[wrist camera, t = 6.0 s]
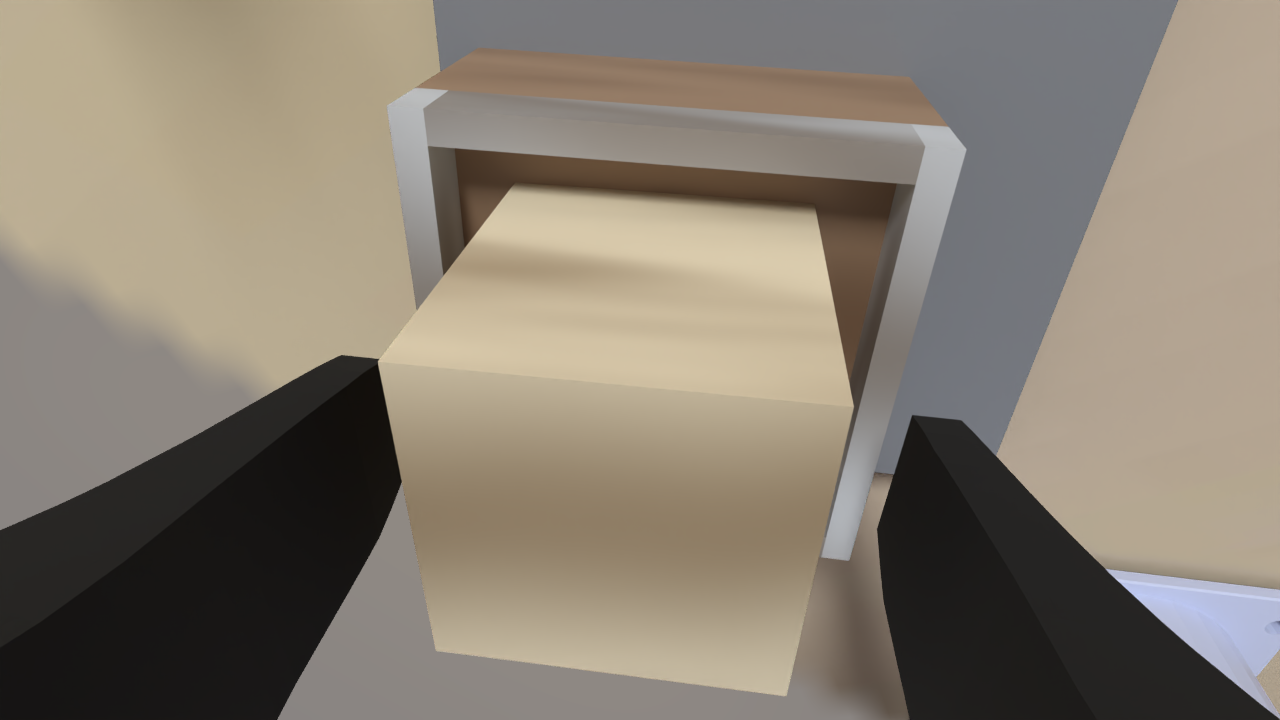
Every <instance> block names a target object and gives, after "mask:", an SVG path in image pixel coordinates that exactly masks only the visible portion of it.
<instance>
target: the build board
mask: <svg viewBox="0 0 1280 720" xmlns="http://www.w3.org/2000/svg"><path fill="white" fill-rule="evenodd" d="M1177 2H1178V0H433V4H434V14H435V23H436V33H437V42H438V52H439V61H440V71H443V70H444V69H446V68H447V67H449V66H450V65H452V64H454V63H455V62H457V61H458V60H460V59H461V58H463V57H465V56H466V55H468V54H469V53H471V52H473V51H474V50H476V49H477V48H491V49H506V50H521V51H535V52H550V53H565V54H580V55H594V56H609V57H624V58H639V59H653V60H668V61H683V62H698V63H712V64H727V65H742V66H757V67H771V68H786V69H801V70H816V71H830V72H845V73H860V74H875V75H889V76H904V77H910V78H911V79H912V81H913V82H914V83H915V85H916V86H917V87H918V88H919V90H920V91H921V92H922V93H923V95H924V96H925V97H926V99H927V100H928V101H929V102H930V104H931V105H932V106H933V107H934V109H935V110H936V111H937V113H938V114H939V115H940V116H941V118H942V119H943V120H944V121H945V123H946V124H947V125H948V126H949V128H950V129H951V130H952V132H953V133H954V134H955V135H956V137H957V138H958V139H959V140H960V142H961V143H962V144H963V146H964V147H965V148H966V149H967V150H966V153H965V157H964V160H963V164H962V167H961V171H960V174H959V178H958V181H957V185H956V188H955V192H954V195H953V199H952V202H951V206H950V209H949V213H948V216H947V220H946V223H945V227H944V230H943V234H942V237H941V241H940V244H939V248H938V251H937V255H936V258H935V262H934V265H933V269H932V272H931V276H930V279H929V283H928V286H927V290H926V293H925V297H924V300H923V304H922V307H921V311H920V314H919V318H918V321H917V325H916V328H915V332H914V335H913V339H912V343H911V346H910V350H909V353H908V357H907V360H906V364H905V367H904V371H903V374H902V378H901V381H900V385H899V388H898V392H897V395H896V399H895V402H894V406H893V409H892V413H891V416H890V420H889V423H888V427H887V430H886V434H885V437H884V441H883V444H882V448H881V451H880V455H879V458H878V462H877V465H876V469H875V472H878V473H887V474H894V472H895V469H896V466H897V463H898V459H899V456H900V453H901V450H902V446H903V443H904V440H905V436H906V433H907V430H908V427H909V423H910V420H911V417H912V415H918V416H927V417H937V418H946V419H956V420H962V421H963V422H964V423H965V424H966V425H967V426H968V427H969V428H970V429H971V430H972V431H973V432H974V433H975V434H976V435H977V436H978V437H979V438H980V440H981V441H982V442H983V443H984V444H985V445H986V446H987V447H988V448H989V449H990V450H991V451H992V452H993V453H994V455H995V456H996V454H997V452H998V449H999V447H1000V444H1001V442H1002V439H1003V437H1004V434H1005V432H1006V429H1007V427H1008V424H1009V422H1010V419H1011V417H1012V414H1013V412H1014V409H1015V407H1016V404H1017V402H1018V399H1019V397H1020V394H1021V392H1022V389H1023V387H1024V384H1025V382H1026V379H1027V377H1028V374H1029V372H1030V369H1031V367H1032V364H1033V362H1034V359H1035V357H1036V354H1037V352H1038V349H1039V347H1040V344H1041V342H1042V339H1043V337H1044V334H1045V332H1046V329H1047V327H1048V324H1049V322H1050V319H1051V317H1052V314H1053V312H1054V309H1055V307H1056V304H1057V302H1058V299H1059V297H1060V294H1061V292H1062V289H1063V287H1064V284H1065V282H1066V279H1067V277H1068V274H1069V272H1070V269H1071V267H1072V264H1073V262H1074V259H1075V257H1076V254H1077V252H1078V249H1079V247H1080V244H1081V242H1082V239H1083V237H1084V234H1085V232H1086V229H1087V227H1088V224H1089V222H1090V219H1091V217H1092V214H1093V212H1094V209H1095V207H1096V204H1097V202H1098V199H1099V197H1100V194H1101V192H1102V189H1103V187H1104V184H1105V182H1106V179H1107V177H1108V174H1109V172H1110V169H1111V167H1112V164H1113V162H1114V159H1115V157H1116V154H1117V152H1118V149H1119V147H1120V144H1121V142H1122V139H1123V137H1124V134H1125V132H1126V129H1127V127H1128V124H1129V122H1130V119H1131V117H1132V114H1133V112H1134V109H1135V107H1136V104H1137V102H1138V99H1139V97H1140V94H1141V92H1142V89H1143V87H1144V84H1145V82H1146V79H1147V77H1148V74H1149V72H1150V69H1151V67H1152V64H1153V62H1154V59H1155V57H1156V54H1157V52H1158V49H1159V47H1160V44H1161V42H1162V39H1163V37H1164V34H1165V32H1166V29H1167V27H1168V24H1169V22H1170V19H1171V17H1172V14H1173V12H1174V9H1175V7H1176V4H1177Z"/></svg>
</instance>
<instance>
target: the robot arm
mask: <svg viewBox="0 0 1280 720" xmlns="http://www.w3.org/2000/svg"><path fill="white" fill-rule="evenodd" d="M378 361H379V359H373V358H364V357H354V356H345V355H341V356H338V357H336V358H334V359H332V360H330V361H328V362H326V363H324V364H322V365H320V366H318V367H316V368H315V369H313V370H311V371H309V372H307V373H305V374H304V375H302V376H300V377H298V378H296V379H295V380H293V381H291V382H289V383H288V384H286V385H284V386H282V387H281V388H279V389H277V390H275V391H274V392H272V393H270V394H268V395H267V396H265V397H263V398H261V399H260V400H258V401H256V402H254V403H253V404H251V405H249V406H247V407H245V408H244V409H242V410H240V411H239V412H237V413H235V414H233V415H232V416H230V417H228V418H226V419H225V420H223V421H221V422H219V423H217V424H215V425H214V426H212V427H210V428H208V429H207V430H205V431H203V432H201V433H200V434H198V435H196V436H194V437H192V438H190V439H188V440H186V441H185V442H183V443H181V444H179V445H177V446H175V447H173V448H171V449H170V450H167V451H165V452H164V453H162V454H160V455H158V456H156V457H154V458H152V459H150V460H148V461H146V462H144V463H142V464H141V465H139V466H137V467H135V468H133V469H131V470H129V471H127V472H125V473H123V474H121V475H120V476H118V477H116V478H114V479H112V480H110V481H108V482H106V483H104V484H102V485H100V486H98V487H95V488H93V489H92V490H89V491H87V492H85V493H83V494H81V495H79V496H76V497H75V498H72V499H70V500H68V501H66V502H64V503H62V504H59V505H58V506H55V507H53V508H50V509H48V510H46V511H43V512H41V513H39V514H37V515H34V516H32V517H30V518H28V519H26V520H23V521H21V522H18V523H16V524H14V525H12V526H9V527H7V528H5V529H2V530H0V720H277V719H278V717H279V715H280V713H281V711H282V709H283V707H284V706H285V703H286V702H287V699H288V698H289V696H290V694H291V692H292V690H293V688H294V686H295V684H296V683H297V681H298V679H299V677H300V676H301V674H302V672H303V671H304V669H305V667H306V665H307V664H308V662H309V660H310V658H311V657H312V655H313V653H314V651H315V650H316V648H317V646H318V644H319V643H320V641H321V639H322V638H323V636H324V634H325V632H326V631H327V629H328V627H329V625H330V624H331V622H332V620H333V618H334V617H335V615H336V613H337V611H338V610H339V608H340V606H341V604H342V603H343V601H344V599H345V598H346V596H347V594H348V592H349V591H350V589H351V587H352V585H353V584H354V582H355V580H356V578H357V576H358V575H359V573H360V571H361V569H362V568H363V566H364V564H365V562H366V561H367V559H368V557H369V555H370V553H371V551H372V550H373V548H374V546H375V544H376V542H377V540H378V539H379V537H380V535H381V532H382V530H383V527H384V525H385V523H386V520H387V518H388V516H389V513H390V511H391V508H392V506H393V503H394V501H395V498H396V496H397V493H398V490H399V488H400V485H401V483H402V480H401V475H400V470H399V465H398V460H397V455H396V450H395V445H394V440H393V435H392V430H391V425H390V420H389V415H388V410H387V405H386V400H385V395H384V391H383V386H382V381H381V376H380V371H379V366H378ZM877 533H878V545H879V558H880V570H881V580H882V589H883V599H884V605H885V609H886V614H887V619H888V624H889V628H890V633H891V637H892V642H893V646H894V651H895V656H896V660H897V665H898V669H899V673H900V678H901V682H902V687H903V691H904V695H905V700H906V704H907V709H908V713H909V718H910V720H1280V715H1279V713H1278V712H1277V710H1276V709H1275V707H1274V705H1273V704H1272V702H1271V701H1270V699H1269V697H1268V696H1267V694H1266V693H1265V691H1264V689H1263V688H1262V686H1261V685H1260V683H1259V682H1258V680H1257V678H1256V677H1257V675H1258V674H1259V673H1260V672H1261V671H1262V670H1263V668H1264V667H1265V666H1266V665H1267V664H1268V662H1269V661H1270V660H1271V659H1272V658H1273V656H1274V655H1275V654H1276V653H1277V652H1278V650H1279V649H1280V590H1277V589H1269V588H1260V587H1252V586H1244V585H1235V584H1227V583H1218V582H1210V581H1202V580H1193V579H1185V578H1176V577H1168V576H1160V575H1151V574H1143V573H1134V572H1126V571H1118V570H1109V569H1105V568H1104V567H1103V566H1102V565H1101V564H1100V563H1099V562H1098V561H1097V560H1095V559H1094V558H1093V557H1092V556H1091V555H1090V554H1089V553H1088V552H1087V551H1086V550H1085V549H1084V548H1083V547H1082V546H1081V545H1080V544H1079V543H1078V542H1077V541H1076V540H1075V539H1074V538H1073V537H1072V536H1071V535H1070V534H1069V533H1068V532H1067V531H1066V530H1065V529H1064V528H1063V527H1062V526H1061V525H1060V523H1059V522H1058V521H1057V520H1056V519H1055V518H1054V517H1053V516H1052V515H1051V514H1050V513H1049V512H1048V511H1047V510H1046V509H1045V508H1044V507H1043V506H1042V505H1041V504H1040V503H1039V502H1038V501H1037V500H1036V499H1035V497H1034V496H1033V495H1032V494H1031V493H1030V492H1029V491H1028V490H1027V489H1026V488H1025V487H1024V486H1023V485H1022V484H1021V483H1020V481H1019V480H1018V479H1017V478H1016V477H1015V476H1014V475H1013V474H1012V473H1011V472H1010V471H1009V470H1008V469H1007V468H1006V466H1005V465H1004V464H1003V463H1002V462H1001V461H1000V460H999V459H998V458H997V457H996V456H995V455H994V453H993V452H992V451H991V450H990V449H989V448H988V447H987V446H986V445H985V444H984V443H983V442H982V441H981V440H980V438H979V437H978V436H977V435H976V434H975V433H974V432H973V431H972V430H971V429H970V428H969V427H968V426H967V425H966V424H965V423H964V422H963V421H962V420H956V419H946V418H937V417H927V416H918V415H912V417H911V420H910V423H909V427H908V430H907V433H906V436H905V440H904V443H903V446H902V450H901V453H900V456H899V459H898V463H897V466H896V469H895V472H894V476H893V479H892V482H891V486H890V489H889V492H888V495H887V499H886V502H885V505H884V508H883V512H882V515H881V518H880V522H879V525H878V528H877Z"/></svg>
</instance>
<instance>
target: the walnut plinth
mask: <svg viewBox="0 0 1280 720" xmlns="http://www.w3.org/2000/svg"><path fill="white" fill-rule="evenodd" d="M387 111H388V118H389V125H390V131H391V138H392V145H393V152H394V159H395V166H396V172H397V179H398V186H399V193H400V200H401V206H402V213H403V220H404V227H405V234H406V240H407V247H408V254H409V261H410V268H411V274H412V281H413V288H414V295H415V302H416V309H417V310H418V309H419V307H420V306H421V305H422V303H423V302H424V301H425V299H426V298H427V297H428V295H429V294H430V293H431V292H432V290H433V289H434V288H435V286H436V285H437V284H438V282H439V281H440V280H441V279H442V277H443V276H444V275H445V273H446V272H447V271H448V269H449V268H450V267H451V266H452V264H453V263H454V262H455V260H456V259H457V258H458V256H459V255H460V254H461V252H462V251H463V250H464V249H465V247H466V246H467V245H468V243H469V242H470V241H471V239H472V238H473V237H474V236H475V234H476V233H477V232H478V230H479V229H480V228H481V226H482V225H483V224H484V222H485V221H486V220H487V219H488V217H489V216H490V215H491V213H492V212H493V211H494V209H495V208H496V207H497V206H498V204H499V203H500V202H501V200H502V199H503V198H504V196H505V195H506V194H507V193H508V191H509V190H510V189H511V187H512V186H513V185H514V183H529V184H543V185H557V186H571V187H585V188H599V189H613V190H627V191H641V192H655V193H669V194H683V195H697V196H711V197H725V198H739V199H753V200H767V201H781V202H795V203H809V204H815V209H816V214H817V219H818V224H819V230H820V235H821V240H822V245H823V250H824V255H825V261H826V266H827V271H828V276H829V281H830V286H831V291H832V297H833V302H834V307H835V312H836V317H837V322H838V328H839V333H840V338H841V343H842V348H843V353H844V359H845V364H846V369H847V374H848V379H849V384H850V389H851V395H852V400H853V405H854V409H853V413H852V417H851V422H850V426H849V430H848V434H847V439H846V443H845V447H844V452H843V456H842V460H841V464H840V469H839V473H838V477H837V482H836V486H835V490H834V494H833V499H832V503H831V507H830V512H829V516H828V520H827V524H826V529H825V533H824V537H823V541H822V546H821V550H820V554H819V557H822V558H831V559H839V560H847V561H849V560H850V556H851V553H852V549H853V546H854V542H855V539H856V535H857V532H858V528H859V525H860V521H861V518H862V514H863V511H864V507H865V504H866V500H867V497H868V493H869V490H870V486H871V483H872V479H873V476H874V472H875V469H876V465H877V462H878V458H879V455H880V451H881V448H882V444H883V441H884V437H885V434H886V430H887V427H888V423H889V420H890V416H891V413H892V409H893V406H894V402H895V399H896V395H897V392H898V388H899V385H900V381H901V378H902V374H903V371H904V367H905V364H906V360H907V357H908V353H909V350H910V346H911V343H912V339H913V335H914V332H915V328H916V325H917V321H918V318H919V314H920V311H921V307H922V304H923V300H924V297H925V293H926V290H927V286H928V283H929V279H930V276H931V272H932V269H933V265H934V262H935V258H936V255H937V251H938V248H939V244H940V241H941V237H942V234H943V230H944V227H945V223H946V220H947V216H948V213H949V209H950V206H951V202H952V199H953V195H954V192H955V188H956V185H957V181H958V178H959V174H960V171H961V167H962V164H963V160H964V157H965V153H966V150H967V149H966V148H965V147H964V146H963V144H962V143H961V142H960V140H959V139H958V138H957V137H956V135H955V134H954V133H953V132H952V130H951V129H950V128H949V126H948V125H947V124H946V123H945V121H944V120H943V119H942V118H941V116H940V115H939V114H938V113H937V111H936V110H935V109H934V107H933V106H932V105H931V104H930V102H929V101H928V100H927V99H926V97H925V96H924V95H923V93H922V92H921V91H920V90H919V88H918V87H917V86H916V85H915V83H914V82H913V81H912V79H911V78H910V77H904V76H889V75H875V74H860V73H845V72H830V71H816V70H801V69H786V68H771V67H757V66H742V65H727V64H712V63H698V62H683V61H668V60H653V59H639V58H624V57H609V56H594V55H580V54H565V53H550V52H535V51H521V50H506V49H491V48H477V49H476V50H474V51H473V52H471V53H469V54H468V55H466V56H465V57H463V58H461V59H460V60H458V61H457V62H455V63H454V64H452V65H450V66H449V67H447V68H446V69H444V70H443V71H441V72H439V73H438V74H436V75H435V76H433V77H431V78H430V79H428V80H427V81H425V82H424V83H422V84H420V85H419V86H417V87H416V88H414V89H413V90H411V91H409V92H408V93H406V94H405V95H403V96H401V97H400V98H398V99H397V100H395V101H394V102H392V103H390V104H389V105H387Z"/></svg>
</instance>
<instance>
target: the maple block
mask: <svg viewBox="0 0 1280 720" xmlns="http://www.w3.org/2000/svg"><path fill="white" fill-rule="evenodd" d="M378 366H379V371H380V376H381V381H382V386H383V391H384V395H385V400H386V405H387V410H388V415H389V420H390V425H391V430H392V435H393V440H394V445H395V450H396V455H397V460H398V465H399V470H400V475H401V480H402V485H403V489H404V495H405V500H406V504H407V509H408V514H409V519H410V524H411V529H412V534H413V539H414V544H415V549H416V554H417V559H418V564H419V569H420V574H421V579H422V584H423V589H424V593H425V599H426V604H427V608H428V613H429V618H430V623H431V628H432V633H433V638H434V643H435V648H436V651H442V652H450V653H457V654H465V655H473V656H480V657H488V658H496V659H503V660H511V661H519V662H526V663H534V664H542V665H550V666H557V667H565V668H573V669H581V670H588V671H595V672H603V673H611V674H619V675H626V676H634V677H641V678H649V679H657V680H665V681H672V682H680V683H688V684H695V685H703V686H711V687H719V688H726V689H733V690H742V691H749V692H756V693H764V694H772V695H779V696H787V691H788V687H789V683H790V678H791V674H792V670H793V666H794V661H795V657H796V653H797V648H798V644H799V640H800V636H801V631H802V627H803V623H804V619H805V614H806V610H807V606H808V601H809V597H810V593H811V589H812V584H813V580H814V576H815V571H816V567H817V563H818V559H819V554H820V550H821V546H822V541H823V537H824V533H825V529H826V524H827V520H828V516H829V512H830V507H831V503H832V499H833V494H834V490H835V486H836V482H837V477H838V473H839V469H840V464H841V460H842V456H843V452H844V447H845V443H846V439H847V434H848V430H849V426H850V422H851V417H852V413H853V409H854V405H853V400H852V395H851V389H850V384H849V379H848V374H847V369H846V364H845V359H844V353H843V348H842V343H841V338H840V333H839V328H838V322H837V317H836V312H835V307H834V302H833V297H832V291H831V286H830V281H829V276H828V271H827V266H826V261H825V255H824V250H823V245H822V240H821V235H820V230H819V224H818V219H817V214H816V209H815V204H809V203H795V202H781V201H767V200H753V199H739V198H725V197H711V196H697V195H683V194H669V193H655V192H641V191H627V190H613V189H599V188H585V187H571V186H557V185H543V184H529V183H514V185H513V186H512V187H511V189H510V190H509V191H508V193H507V194H506V195H505V196H504V198H503V199H502V200H501V202H500V203H499V204H498V206H497V207H496V208H495V209H494V211H493V212H492V213H491V215H490V216H489V217H488V219H487V220H486V221H485V222H484V224H483V225H482V226H481V228H480V229H479V230H478V232H477V233H476V234H475V236H474V237H473V238H472V239H471V241H470V242H469V243H468V245H467V246H466V247H465V249H464V250H463V251H462V252H461V254H460V255H459V256H458V258H457V259H456V260H455V262H454V263H453V264H452V266H451V267H450V268H449V269H448V271H447V272H446V273H445V275H444V276H443V277H442V279H441V280H440V281H439V282H438V284H437V285H436V286H435V288H434V289H433V290H432V292H431V293H430V294H429V295H428V297H427V298H426V299H425V301H424V302H423V303H422V305H421V306H420V307H419V309H418V310H417V311H416V312H415V314H414V315H413V316H412V318H411V319H410V320H409V322H408V323H407V324H406V325H405V327H404V328H403V329H402V331H401V332H400V333H399V335H398V336H397V337H396V338H395V340H394V341H393V342H392V344H391V345H390V346H389V348H388V349H387V350H386V352H385V353H384V354H383V355H382V357H381V358H380V359H379V361H378Z"/></svg>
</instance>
